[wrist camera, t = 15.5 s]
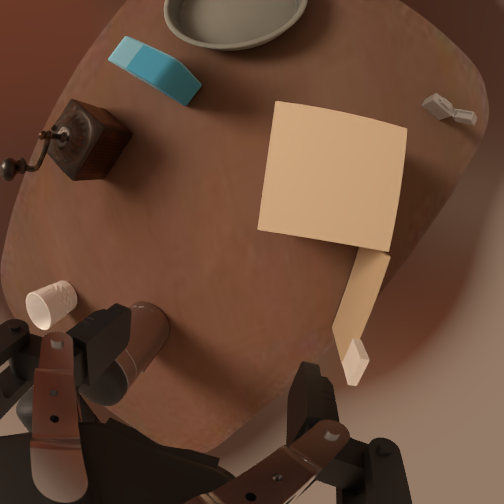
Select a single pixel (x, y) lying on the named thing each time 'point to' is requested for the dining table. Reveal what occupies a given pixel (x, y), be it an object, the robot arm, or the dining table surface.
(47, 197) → the dining table surface
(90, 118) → the pepper mill
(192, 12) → the cake pan
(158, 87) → the data package
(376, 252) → the beige wooden slab
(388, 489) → the robot arm
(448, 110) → the lighter
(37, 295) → the white cup
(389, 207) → the carton
